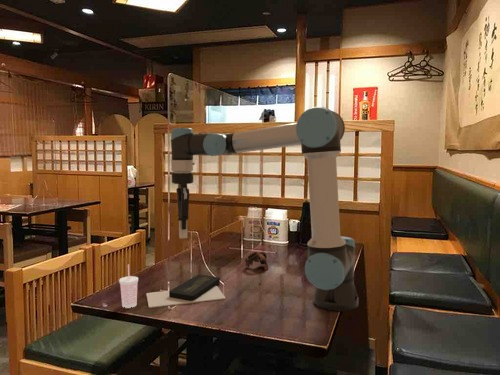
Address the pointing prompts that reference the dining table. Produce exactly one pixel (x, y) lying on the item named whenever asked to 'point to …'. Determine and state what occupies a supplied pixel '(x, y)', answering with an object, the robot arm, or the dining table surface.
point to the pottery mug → (257, 259)
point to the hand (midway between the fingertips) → (183, 237)
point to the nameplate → (194, 287)
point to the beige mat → (164, 300)
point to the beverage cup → (129, 290)
